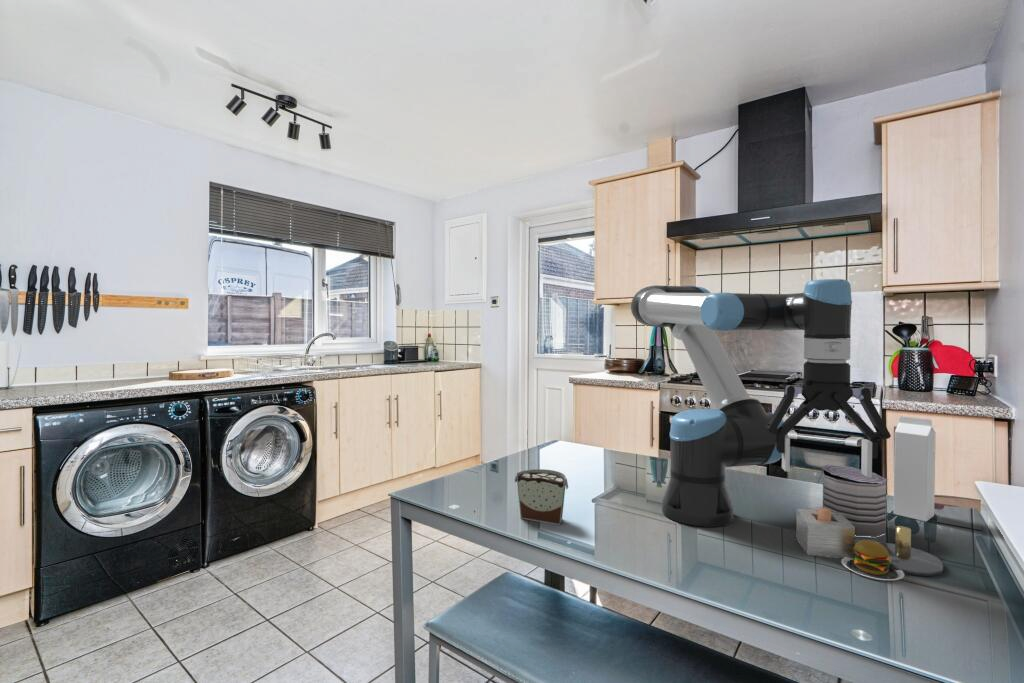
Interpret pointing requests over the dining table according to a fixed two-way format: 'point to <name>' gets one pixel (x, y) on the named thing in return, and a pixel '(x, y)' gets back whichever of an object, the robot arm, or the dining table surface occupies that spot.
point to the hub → (911, 556)
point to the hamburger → (871, 559)
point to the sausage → (824, 514)
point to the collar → (825, 534)
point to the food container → (541, 495)
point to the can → (856, 498)
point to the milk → (914, 468)
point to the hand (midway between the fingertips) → (825, 472)
